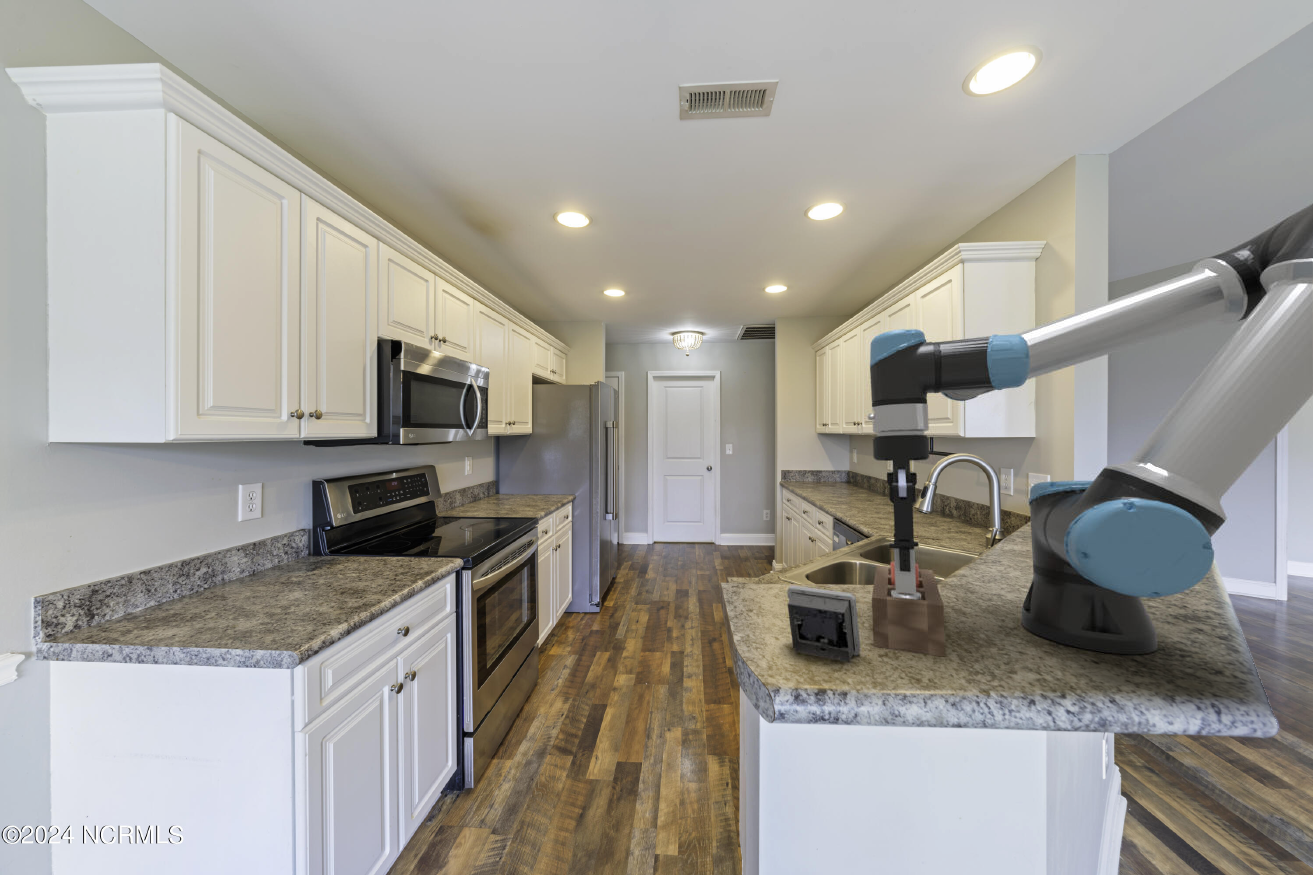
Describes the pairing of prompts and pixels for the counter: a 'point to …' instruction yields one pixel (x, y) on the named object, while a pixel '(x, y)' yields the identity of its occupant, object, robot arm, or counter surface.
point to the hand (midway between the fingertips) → (905, 591)
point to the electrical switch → (823, 622)
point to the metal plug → (906, 595)
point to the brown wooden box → (908, 616)
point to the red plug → (894, 574)
